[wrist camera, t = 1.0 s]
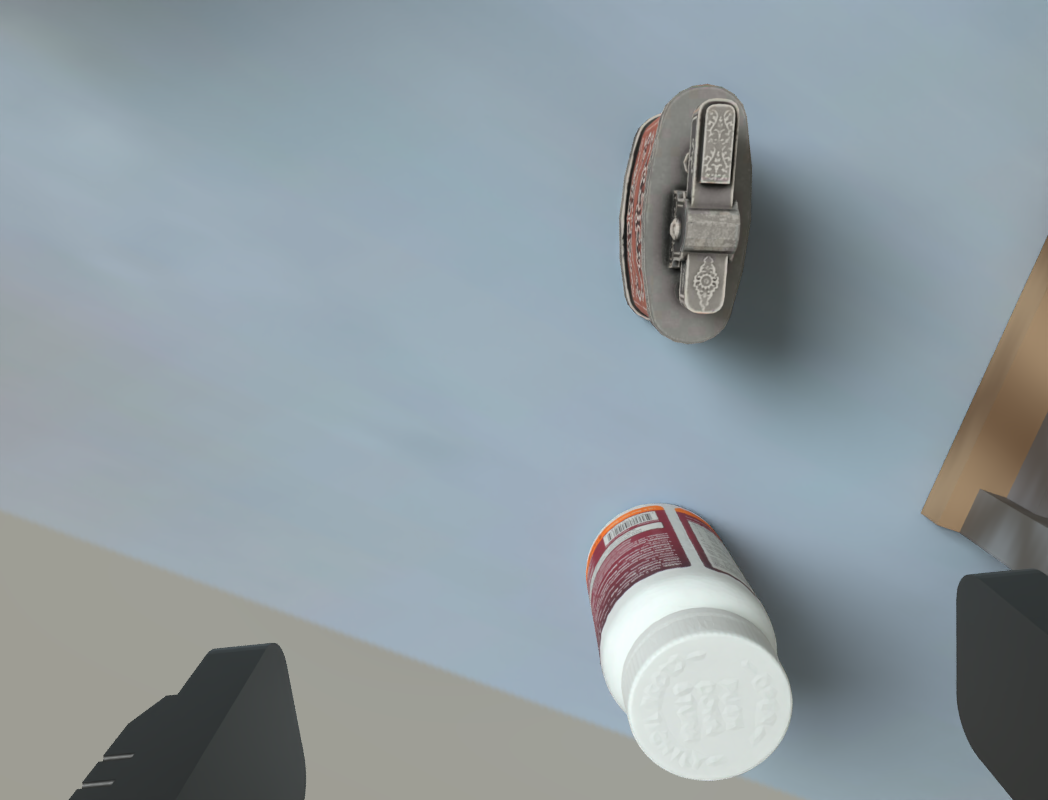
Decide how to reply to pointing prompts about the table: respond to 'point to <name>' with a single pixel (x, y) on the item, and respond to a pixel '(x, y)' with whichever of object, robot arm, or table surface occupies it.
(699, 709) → the pill bottle
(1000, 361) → the gauge track
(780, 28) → the table surface
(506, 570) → the table surface
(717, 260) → the lighter
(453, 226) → the table surface
